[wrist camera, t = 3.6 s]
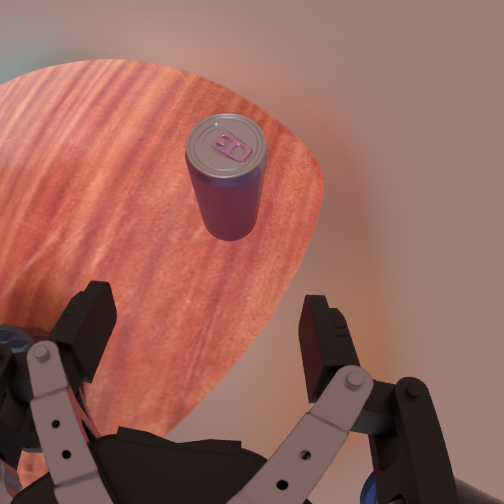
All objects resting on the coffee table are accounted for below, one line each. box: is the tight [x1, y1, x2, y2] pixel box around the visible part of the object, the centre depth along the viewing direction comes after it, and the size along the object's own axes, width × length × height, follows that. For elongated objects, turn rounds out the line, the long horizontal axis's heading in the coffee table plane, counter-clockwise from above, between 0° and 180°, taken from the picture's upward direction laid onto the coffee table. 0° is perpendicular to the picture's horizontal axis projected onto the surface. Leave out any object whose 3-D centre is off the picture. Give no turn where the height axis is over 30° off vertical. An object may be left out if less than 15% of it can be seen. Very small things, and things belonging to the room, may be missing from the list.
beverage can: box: [185, 113, 268, 241], centre depth 28 cm, size 6×6×15 cm
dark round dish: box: [0, 324, 83, 453], centre depth 26 cm, size 15×15×6 cm
